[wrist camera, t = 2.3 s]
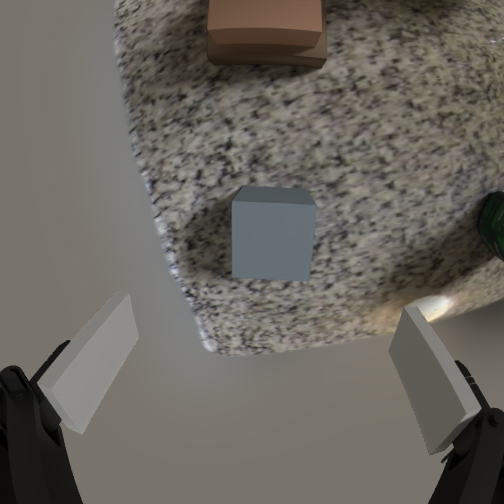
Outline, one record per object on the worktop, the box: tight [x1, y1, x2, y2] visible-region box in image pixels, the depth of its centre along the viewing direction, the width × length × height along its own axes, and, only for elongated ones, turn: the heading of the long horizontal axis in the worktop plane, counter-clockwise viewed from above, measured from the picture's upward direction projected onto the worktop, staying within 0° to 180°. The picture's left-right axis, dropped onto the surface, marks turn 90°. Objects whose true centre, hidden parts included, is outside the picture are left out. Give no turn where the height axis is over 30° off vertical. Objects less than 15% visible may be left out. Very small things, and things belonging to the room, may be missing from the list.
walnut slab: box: [207, 0, 327, 68], centre depth 20 cm, size 11×11×4 cm
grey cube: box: [232, 186, 317, 281], centre depth 26 cm, size 6×6×8 cm
